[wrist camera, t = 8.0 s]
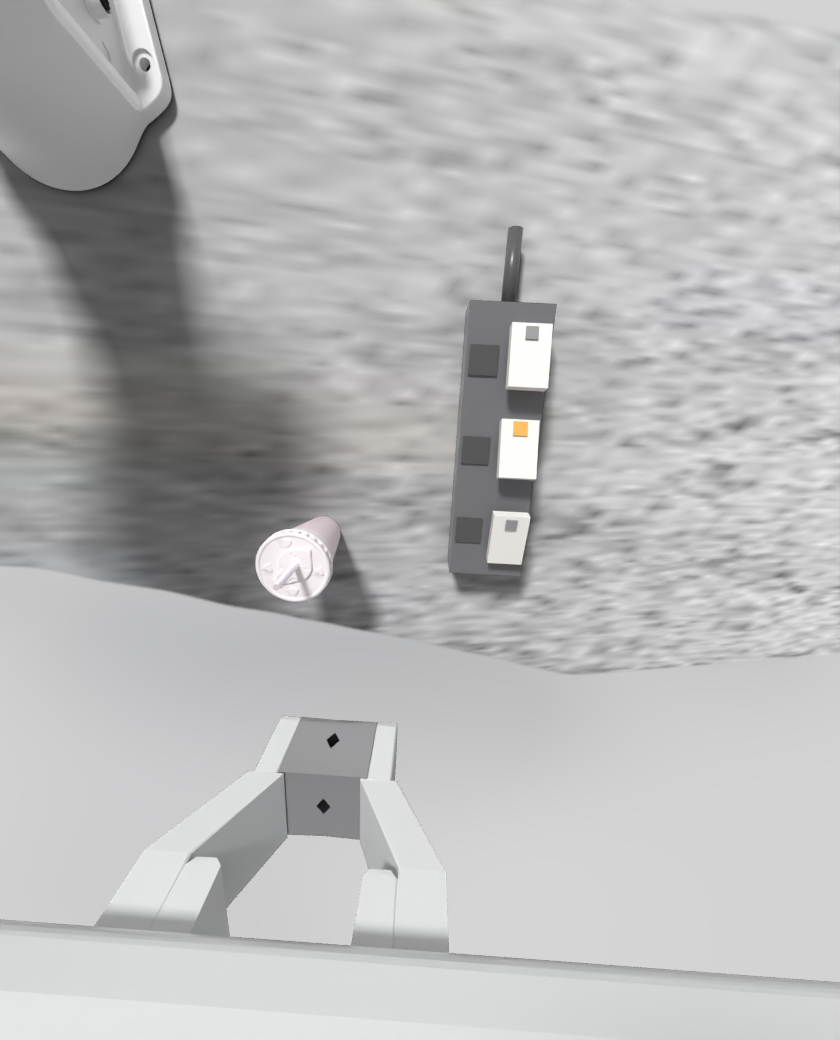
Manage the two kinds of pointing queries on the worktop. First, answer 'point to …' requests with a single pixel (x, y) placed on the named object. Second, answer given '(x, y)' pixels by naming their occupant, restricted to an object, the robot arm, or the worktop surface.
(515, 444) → the rocker
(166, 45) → the worktop surface
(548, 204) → the worktop surface
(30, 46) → the robot arm
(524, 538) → the block
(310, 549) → the smoothie
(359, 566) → the worktop surface
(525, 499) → the power strip
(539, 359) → the plate
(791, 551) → the worktop surface
